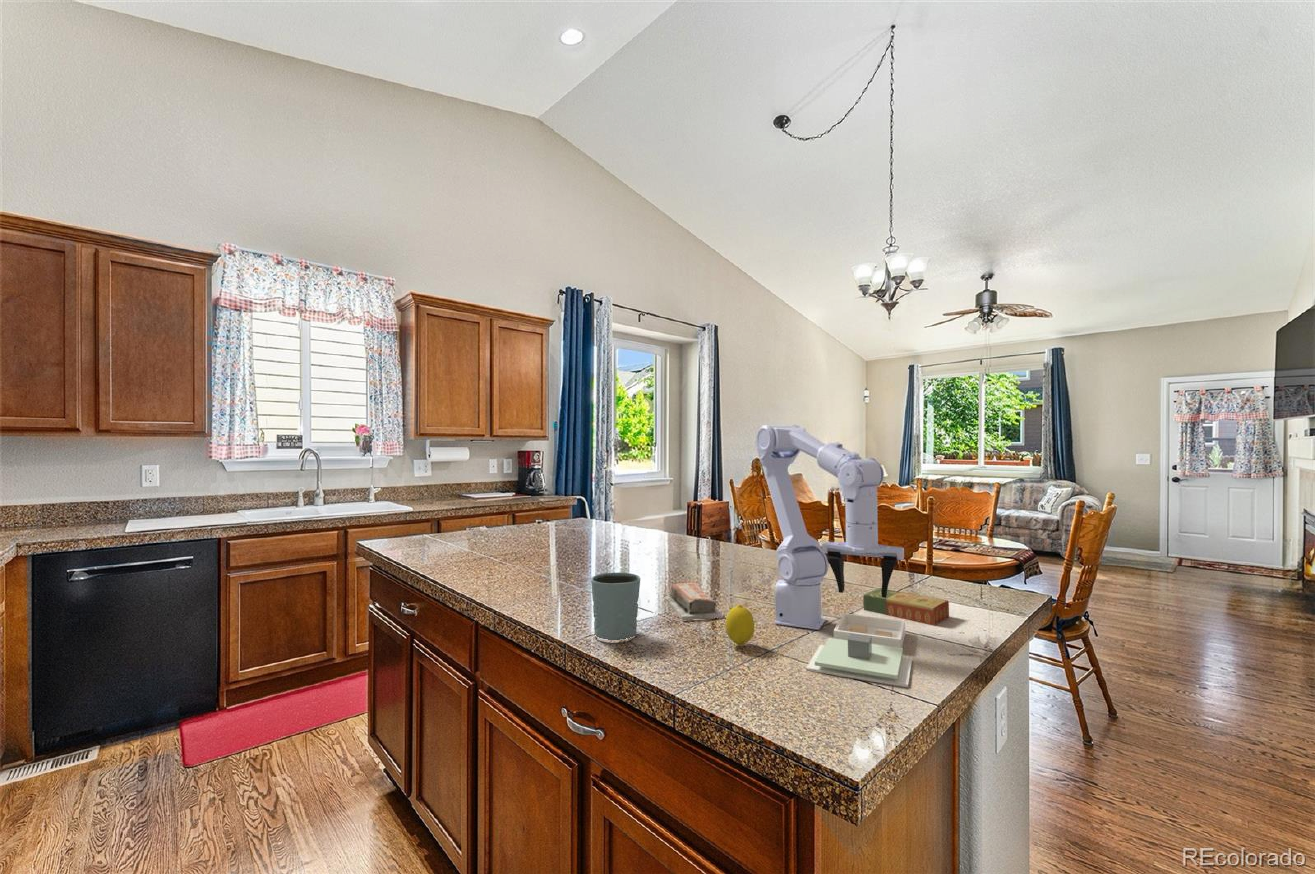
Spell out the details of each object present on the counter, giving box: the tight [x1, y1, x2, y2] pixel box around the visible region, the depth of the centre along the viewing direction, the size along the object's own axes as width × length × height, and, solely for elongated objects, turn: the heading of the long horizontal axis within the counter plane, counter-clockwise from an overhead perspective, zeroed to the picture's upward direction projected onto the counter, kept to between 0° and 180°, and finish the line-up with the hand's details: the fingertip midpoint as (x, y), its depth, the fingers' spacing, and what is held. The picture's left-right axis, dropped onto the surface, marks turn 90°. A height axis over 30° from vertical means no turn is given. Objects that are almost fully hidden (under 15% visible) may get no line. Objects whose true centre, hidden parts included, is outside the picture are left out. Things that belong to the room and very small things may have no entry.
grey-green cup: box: [590, 572, 641, 640], centre depth 114 cm, size 10×10×12 cm
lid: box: [815, 633, 904, 679], centre depth 97 cm, size 13×13×4 cm
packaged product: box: [663, 582, 725, 620], centre depth 132 cm, size 18×5×10 cm
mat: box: [805, 644, 913, 688], centre depth 97 cm, size 16×12×1 cm
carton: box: [862, 587, 950, 627], centre depth 125 cm, size 8×16×4 cm, turn 42°
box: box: [833, 612, 906, 648], centre depth 110 cm, size 12×12×2 cm
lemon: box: [725, 604, 755, 647], centre depth 107 cm, size 6×6×8 cm
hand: (862, 593), depth 105 cm, fingers open, 7 cm apart
